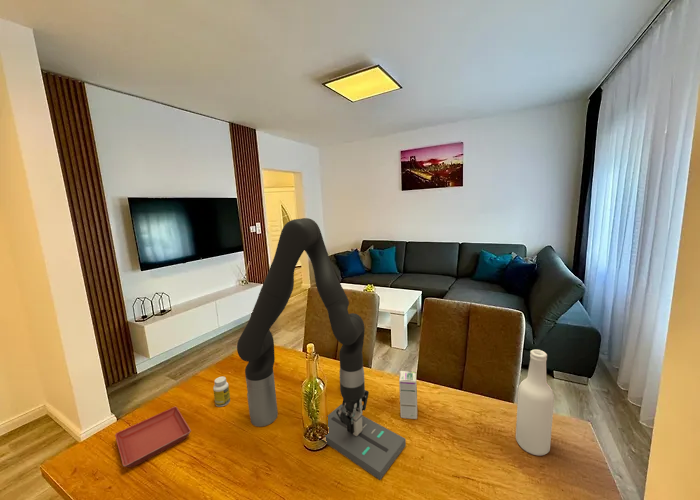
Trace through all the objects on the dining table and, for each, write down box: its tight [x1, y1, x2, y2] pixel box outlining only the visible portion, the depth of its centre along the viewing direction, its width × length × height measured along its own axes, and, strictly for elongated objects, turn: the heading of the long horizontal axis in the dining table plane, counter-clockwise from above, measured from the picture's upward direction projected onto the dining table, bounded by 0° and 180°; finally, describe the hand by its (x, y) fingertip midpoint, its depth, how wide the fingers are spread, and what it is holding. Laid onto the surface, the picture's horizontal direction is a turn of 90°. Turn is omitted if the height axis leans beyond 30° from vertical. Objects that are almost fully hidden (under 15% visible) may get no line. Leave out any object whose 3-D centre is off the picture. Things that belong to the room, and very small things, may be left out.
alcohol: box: [515, 348, 555, 457], centre depth 86 cm, size 9×9×30 cm
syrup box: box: [398, 370, 418, 420], centre depth 103 cm, size 6×6×14 cm
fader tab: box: [349, 411, 363, 436], centre depth 93 cm, size 4×3×6 cm
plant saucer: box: [114, 406, 192, 468], centre depth 97 cm, size 18×18×3 cm
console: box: [325, 403, 407, 481], centre depth 93 cm, size 26×14×3 cm, turn 50°
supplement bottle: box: [212, 376, 231, 408], centre depth 113 cm, size 5×5×10 cm
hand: (354, 428), depth 93 cm, fingers closed on fader tab, 3 cm apart
